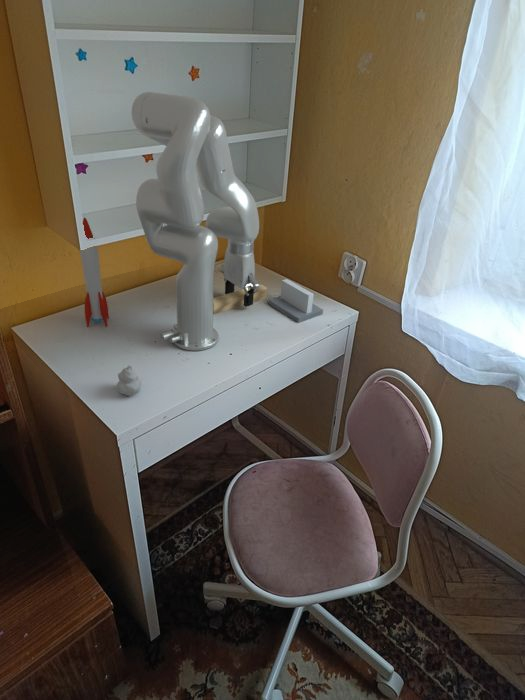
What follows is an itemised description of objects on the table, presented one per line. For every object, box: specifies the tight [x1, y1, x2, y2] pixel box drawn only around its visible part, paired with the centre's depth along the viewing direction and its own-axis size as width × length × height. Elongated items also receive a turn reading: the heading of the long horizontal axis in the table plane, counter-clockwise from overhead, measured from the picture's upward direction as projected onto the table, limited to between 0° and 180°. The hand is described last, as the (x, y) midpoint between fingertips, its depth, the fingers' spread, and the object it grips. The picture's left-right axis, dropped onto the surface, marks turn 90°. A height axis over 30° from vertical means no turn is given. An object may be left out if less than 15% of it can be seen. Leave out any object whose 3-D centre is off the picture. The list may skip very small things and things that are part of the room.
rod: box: [213, 284, 268, 315], centre depth 154 cm, size 20×3×4 cm, turn 128°
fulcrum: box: [267, 278, 324, 324], centre depth 152 cm, size 10×14×8 cm
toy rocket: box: [79, 217, 110, 328], centre depth 132 cm, size 6×6×30 cm
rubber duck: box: [116, 364, 142, 396], centre depth 113 cm, size 5×7×8 cm
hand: (238, 299), depth 154 cm, fingers open, 9 cm apart
